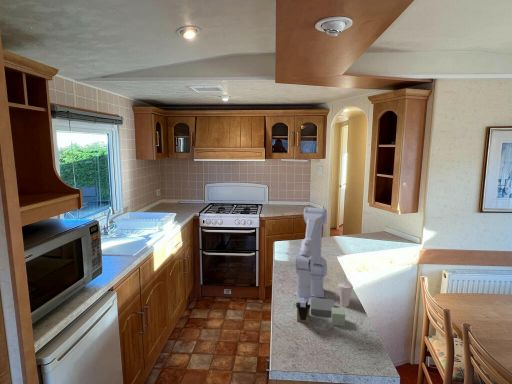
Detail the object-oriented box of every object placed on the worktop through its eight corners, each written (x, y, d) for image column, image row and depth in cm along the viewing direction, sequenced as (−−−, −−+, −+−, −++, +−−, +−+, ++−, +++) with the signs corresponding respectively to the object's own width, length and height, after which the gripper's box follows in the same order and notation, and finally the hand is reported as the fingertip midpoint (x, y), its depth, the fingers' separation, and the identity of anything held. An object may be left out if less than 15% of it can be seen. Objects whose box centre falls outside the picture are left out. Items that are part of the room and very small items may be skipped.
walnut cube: (297, 315, 134) (297, 304, 134) (309, 316, 133) (309, 305, 133) (296, 321, 129) (297, 310, 129) (309, 322, 128) (309, 311, 128)
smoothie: (340, 300, 147) (342, 271, 145) (354, 304, 143) (355, 275, 141) (334, 305, 142) (335, 276, 140) (348, 309, 138) (349, 279, 136)
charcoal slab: (311, 303, 144) (311, 297, 144) (333, 305, 143) (333, 299, 142) (310, 315, 135) (310, 308, 134) (334, 317, 133) (334, 311, 132)
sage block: (331, 318, 132) (331, 307, 131) (343, 319, 131) (344, 308, 130) (331, 325, 127) (332, 313, 126) (344, 326, 126) (345, 314, 125)
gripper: (295, 276, 137) (294, 305, 139) (292, 291, 123) (292, 323, 125) (311, 277, 136) (311, 306, 138) (311, 292, 121) (310, 325, 123)
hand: (303, 314), depth 131 cm, fingers open, 7 cm apart
